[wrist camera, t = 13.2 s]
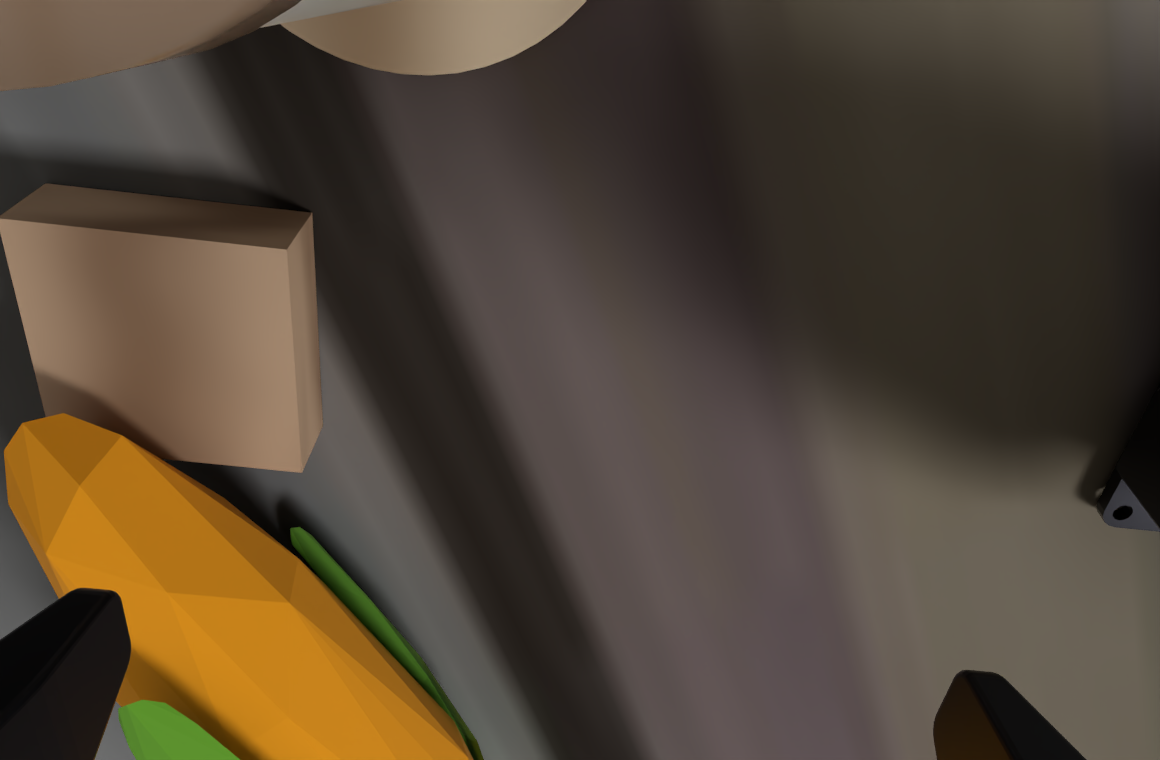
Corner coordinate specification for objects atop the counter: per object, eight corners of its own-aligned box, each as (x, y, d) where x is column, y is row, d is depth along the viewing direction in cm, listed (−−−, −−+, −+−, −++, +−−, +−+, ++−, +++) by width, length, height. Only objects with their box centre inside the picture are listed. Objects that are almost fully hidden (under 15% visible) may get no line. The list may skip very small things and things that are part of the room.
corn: (317, 1060, 27) (-257, 617, 18) (359, 821, 34) (-43, 401, 24) (546, 997, 26) (62, 481, 16) (544, 761, 33) (197, 291, 23)
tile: (312, 212, 21) (287, 249, 20) (322, 425, 25) (302, 472, 23) (45, 183, 21) (-4, 218, 19) (91, 401, 24) (53, 448, 23)
